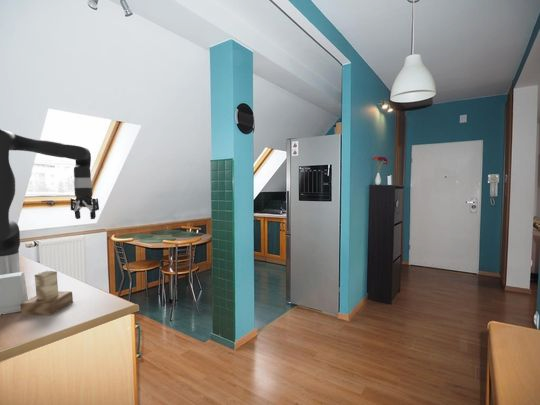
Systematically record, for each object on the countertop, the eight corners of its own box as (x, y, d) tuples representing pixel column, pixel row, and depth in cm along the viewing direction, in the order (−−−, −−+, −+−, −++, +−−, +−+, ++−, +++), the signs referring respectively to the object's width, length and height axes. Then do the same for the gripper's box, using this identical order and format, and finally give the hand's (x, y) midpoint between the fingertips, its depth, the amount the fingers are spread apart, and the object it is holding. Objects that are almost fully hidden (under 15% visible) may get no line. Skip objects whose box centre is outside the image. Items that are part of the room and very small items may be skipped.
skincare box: (29, 305, 123) (25, 270, 122) (24, 311, 118) (21, 275, 116) (3, 309, 119) (-1, 274, 118) (-3, 316, 114) (-7, 278, 113)
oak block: (36, 299, 118) (34, 274, 117) (48, 294, 122) (46, 270, 122) (46, 300, 116) (44, 275, 115) (58, 295, 121) (56, 271, 120)
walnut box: (21, 316, 114) (20, 303, 114) (45, 303, 126) (44, 291, 126) (52, 316, 114) (51, 303, 114) (72, 302, 126) (72, 291, 126)
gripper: (64, 187, 145) (67, 219, 147) (89, 187, 143) (92, 220, 144) (77, 186, 153) (79, 217, 154) (101, 186, 150) (103, 218, 152)
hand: (85, 218), depth 149 cm, fingers open, 8 cm apart
